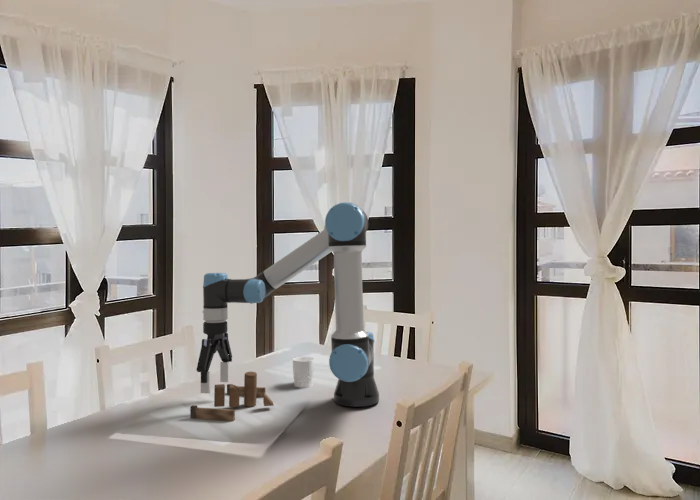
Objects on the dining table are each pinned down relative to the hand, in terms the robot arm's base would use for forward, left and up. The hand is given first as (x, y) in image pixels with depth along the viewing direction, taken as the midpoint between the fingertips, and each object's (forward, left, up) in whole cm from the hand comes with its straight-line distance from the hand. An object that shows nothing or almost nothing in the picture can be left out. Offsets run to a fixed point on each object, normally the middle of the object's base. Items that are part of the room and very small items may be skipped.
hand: (215, 387), depth 166 cm
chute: (-6, 0, -6) cm, 8 cm away
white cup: (-21, -28, -6) cm, 36 cm away
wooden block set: (-10, 0, -6) cm, 11 cm away
